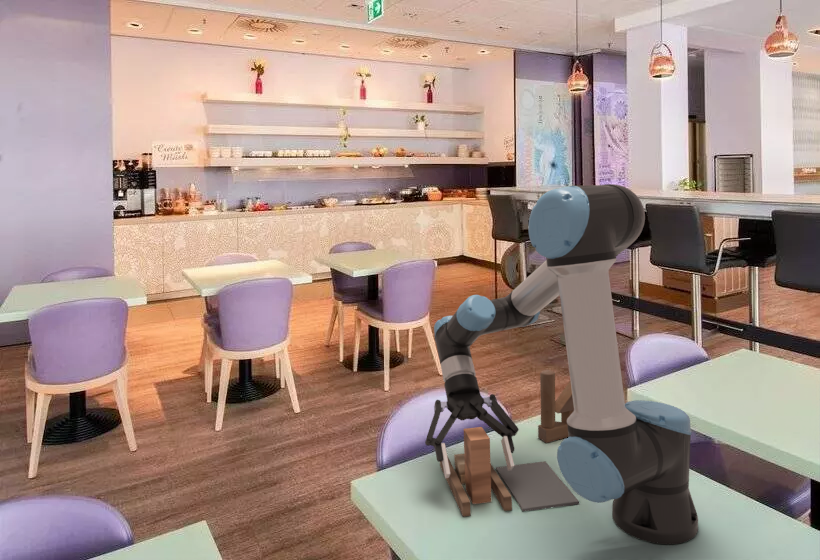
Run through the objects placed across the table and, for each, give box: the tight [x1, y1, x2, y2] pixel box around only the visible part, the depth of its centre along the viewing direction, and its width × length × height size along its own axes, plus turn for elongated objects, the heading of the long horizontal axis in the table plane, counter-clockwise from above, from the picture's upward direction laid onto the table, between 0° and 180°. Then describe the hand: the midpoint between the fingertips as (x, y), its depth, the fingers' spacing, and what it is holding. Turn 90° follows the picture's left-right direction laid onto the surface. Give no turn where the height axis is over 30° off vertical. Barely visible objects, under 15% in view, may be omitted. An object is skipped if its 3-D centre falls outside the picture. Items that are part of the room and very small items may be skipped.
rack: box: [439, 455, 513, 517], centre depth 128 cm, size 22×10×3 cm, turn 9°
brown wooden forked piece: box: [537, 369, 574, 444], centre depth 150 cm, size 4×11×18 cm, turn 113°
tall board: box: [463, 426, 492, 505], centre depth 124 cm, size 6×4×14 cm, turn 9°
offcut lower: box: [454, 465, 465, 485], centre depth 132 cm, size 5×5×2 cm
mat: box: [495, 460, 580, 512], centre depth 128 cm, size 18×12×1 cm, turn 9°
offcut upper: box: [453, 453, 465, 475], centre depth 132 cm, size 5×5×2 cm
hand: (479, 472), depth 122 cm, fingers open, 13 cm apart
